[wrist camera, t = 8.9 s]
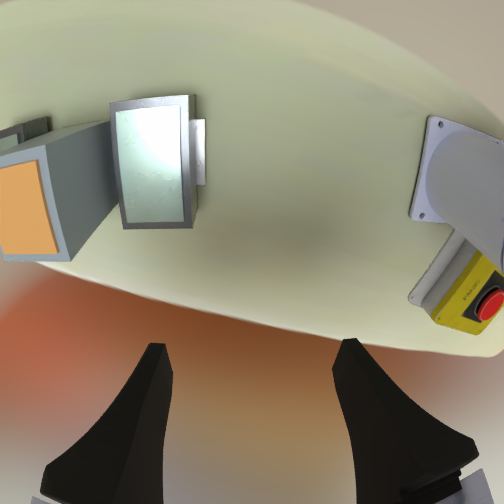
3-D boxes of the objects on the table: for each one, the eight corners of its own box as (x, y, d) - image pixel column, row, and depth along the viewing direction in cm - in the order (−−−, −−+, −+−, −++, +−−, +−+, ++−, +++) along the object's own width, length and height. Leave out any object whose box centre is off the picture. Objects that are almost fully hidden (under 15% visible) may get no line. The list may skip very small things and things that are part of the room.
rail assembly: (205, 94, 15) (198, 94, 12) (206, 204, 18) (201, 230, 15) (7, 128, 14) (-23, 139, 11) (23, 214, 17) (-2, 235, 14)
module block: (115, 118, 14) (42, 146, 8) (123, 196, 17) (69, 264, 10) (55, 129, 14) (-26, 165, 8) (66, 200, 17) (2, 263, 10)
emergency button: (486, 345, 25) (421, 329, 21) (470, 322, 28) (401, 297, 25) (533, 285, 20) (488, 240, 17) (512, 264, 24) (457, 215, 20)
